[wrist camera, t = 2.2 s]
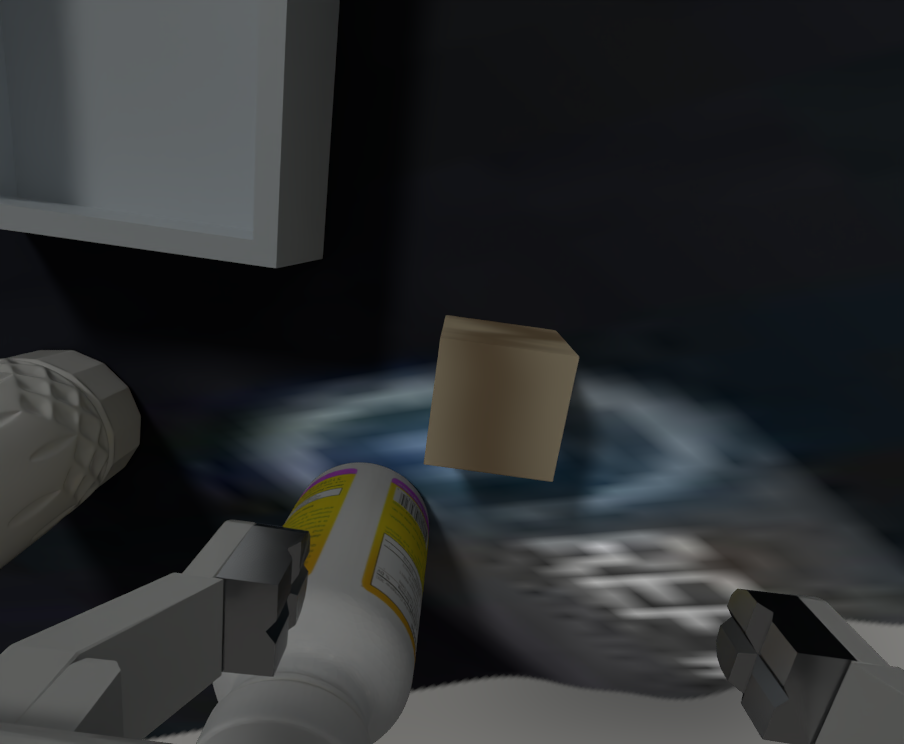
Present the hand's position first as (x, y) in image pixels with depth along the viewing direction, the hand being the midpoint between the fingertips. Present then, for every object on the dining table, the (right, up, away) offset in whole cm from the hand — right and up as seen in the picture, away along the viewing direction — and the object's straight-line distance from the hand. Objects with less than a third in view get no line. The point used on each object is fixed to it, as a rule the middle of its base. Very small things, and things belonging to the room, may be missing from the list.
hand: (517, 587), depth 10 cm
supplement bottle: (-6, -3, +16) cm, 17 cm away
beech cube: (+1, +4, +14) cm, 14 cm away
